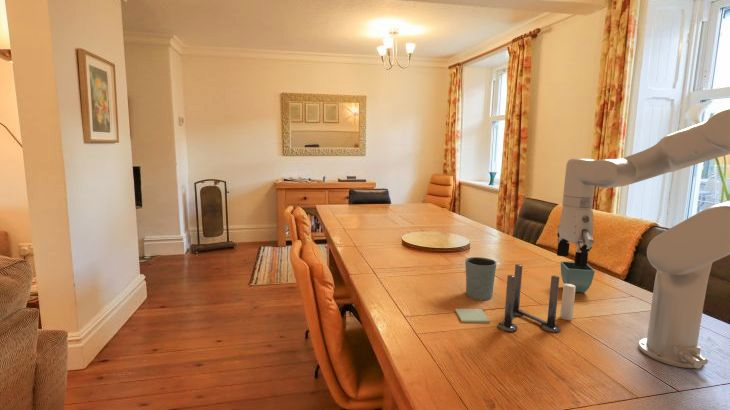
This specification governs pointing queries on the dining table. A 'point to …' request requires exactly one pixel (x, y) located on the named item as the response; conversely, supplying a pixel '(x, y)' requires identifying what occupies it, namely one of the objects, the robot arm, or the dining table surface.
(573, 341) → the dining table surface
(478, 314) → the pad
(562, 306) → the dowel
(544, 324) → the upright post stand
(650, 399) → the dining table surface
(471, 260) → the grey teal cup
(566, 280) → the flower pot
